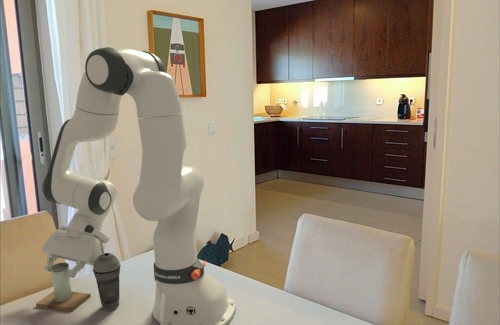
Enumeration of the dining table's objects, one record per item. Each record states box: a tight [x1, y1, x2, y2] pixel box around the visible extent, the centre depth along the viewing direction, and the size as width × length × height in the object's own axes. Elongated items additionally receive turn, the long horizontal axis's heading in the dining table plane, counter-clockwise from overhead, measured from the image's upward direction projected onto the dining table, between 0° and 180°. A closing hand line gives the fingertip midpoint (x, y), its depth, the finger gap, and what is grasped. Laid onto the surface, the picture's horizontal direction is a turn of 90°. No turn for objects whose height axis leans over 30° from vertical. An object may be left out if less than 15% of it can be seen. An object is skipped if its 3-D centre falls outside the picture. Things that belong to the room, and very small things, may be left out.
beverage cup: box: [92, 238, 122, 312], centre depth 111 cm, size 7×7×20 cm
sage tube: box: [50, 262, 73, 303], centre depth 115 cm, size 5×5×10 cm
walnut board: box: [35, 290, 92, 312], centre depth 116 cm, size 12×8×1 cm, turn 76°
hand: (58, 274), depth 114 cm, fingers open, 8 cm apart
